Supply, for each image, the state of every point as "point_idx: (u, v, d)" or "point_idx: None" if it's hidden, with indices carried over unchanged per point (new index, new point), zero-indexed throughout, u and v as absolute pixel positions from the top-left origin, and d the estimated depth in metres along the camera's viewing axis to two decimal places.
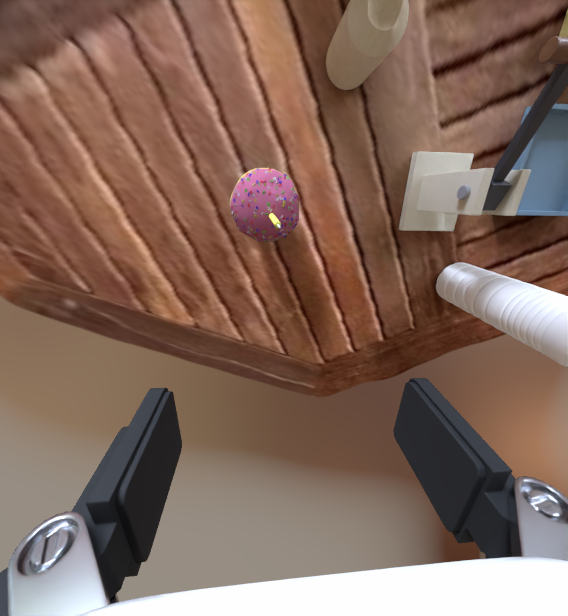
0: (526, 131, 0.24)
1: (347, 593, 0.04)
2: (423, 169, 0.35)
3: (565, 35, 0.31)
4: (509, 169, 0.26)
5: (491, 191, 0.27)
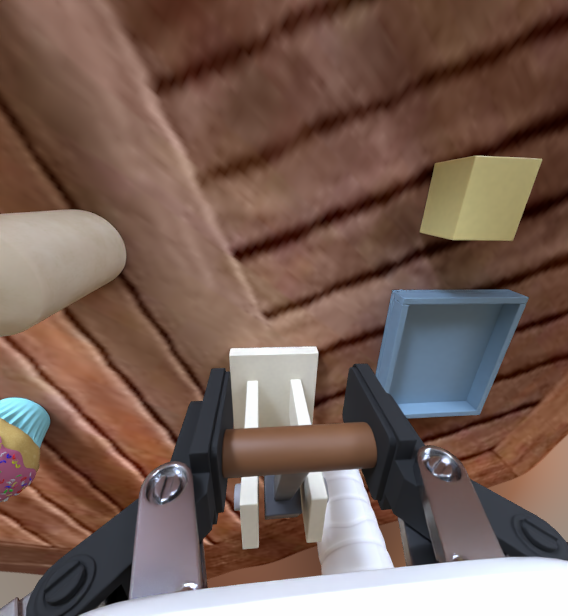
0: (278, 489, 0.12)
1: (347, 593, 0.04)
2: (245, 374, 0.24)
3: (432, 207, 0.20)
4: (289, 497, 0.15)
5: (270, 516, 0.16)
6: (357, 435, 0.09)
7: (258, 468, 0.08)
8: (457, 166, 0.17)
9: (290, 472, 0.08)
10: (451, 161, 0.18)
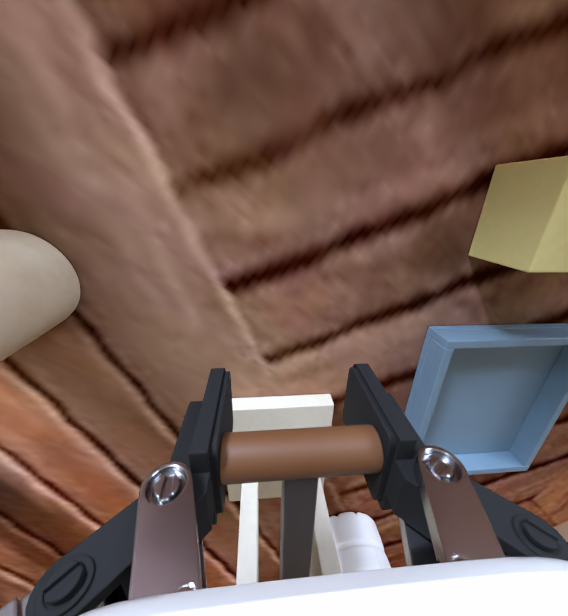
0: (284, 569, 0.10)
1: (347, 593, 0.04)
2: (241, 431, 0.19)
3: (490, 224, 0.15)
4: None
5: None
6: (358, 429, 0.09)
7: (258, 462, 0.08)
8: (538, 170, 0.12)
9: (292, 470, 0.08)
10: (527, 162, 0.13)
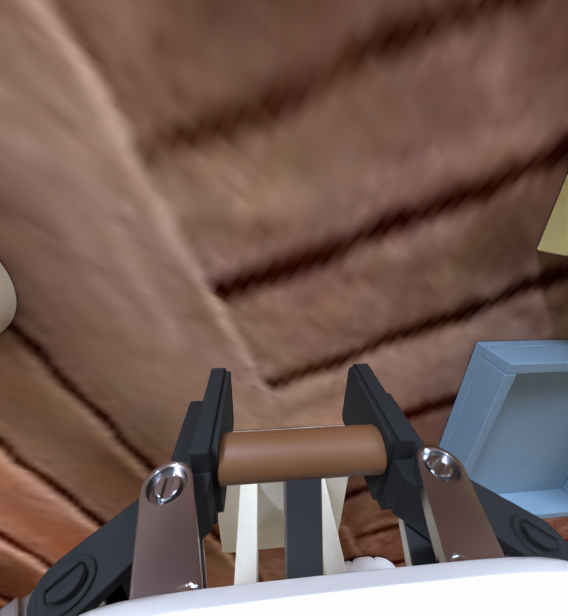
0: None
1: (347, 593, 0.04)
2: None
3: None
4: None
5: None
6: (358, 426, 0.09)
7: (257, 453, 0.08)
8: None
9: (293, 463, 0.08)
10: None
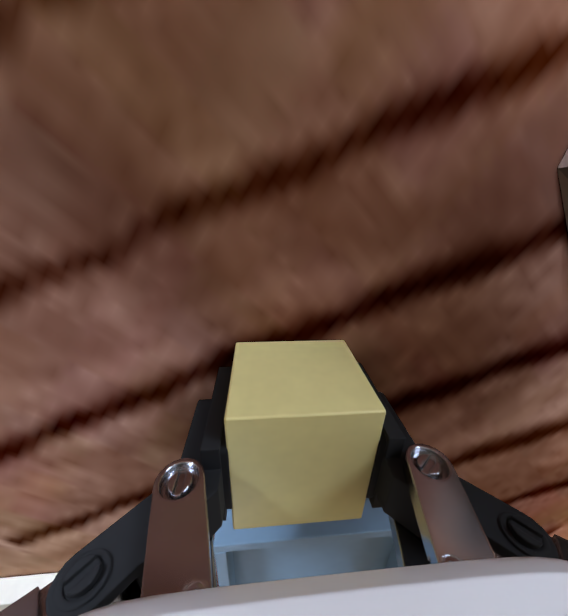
0: None
1: (347, 593, 0.04)
2: None
3: None
4: None
5: None
6: None
7: None
8: None
9: None
10: (231, 372, 0.09)
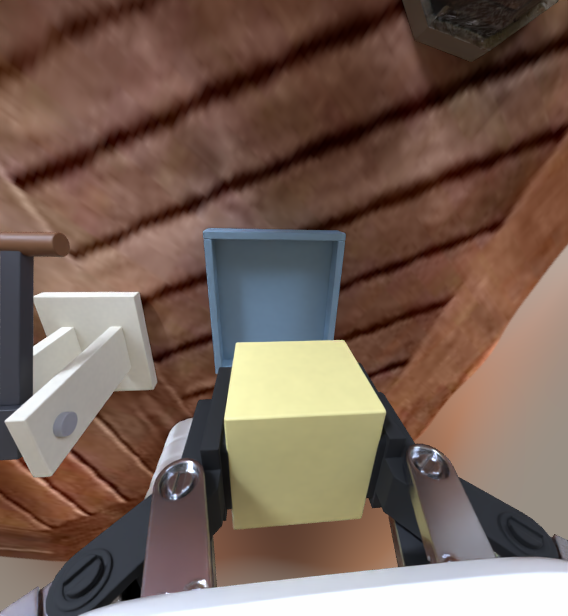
0: (0, 329, 0.15)
1: (347, 593, 0.04)
2: (57, 319, 0.22)
3: None
4: (14, 384, 0.15)
5: None
6: None
7: None
8: None
9: None
10: (231, 372, 0.09)
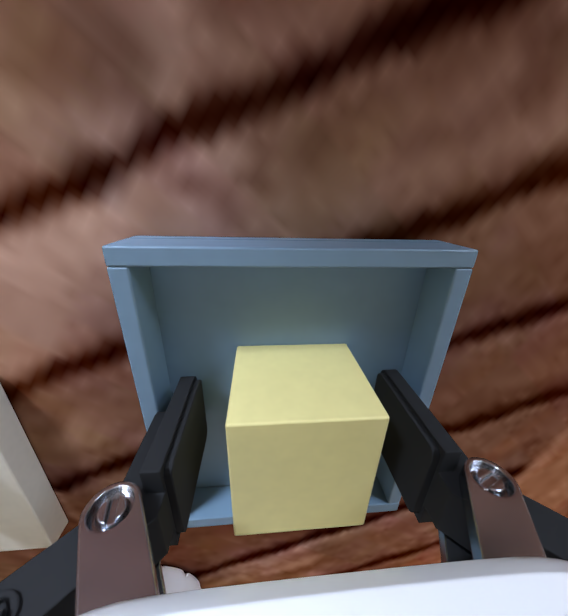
0: None
1: (347, 593, 0.04)
2: None
3: None
4: None
5: None
6: None
7: None
8: None
9: None
10: (232, 377, 0.09)
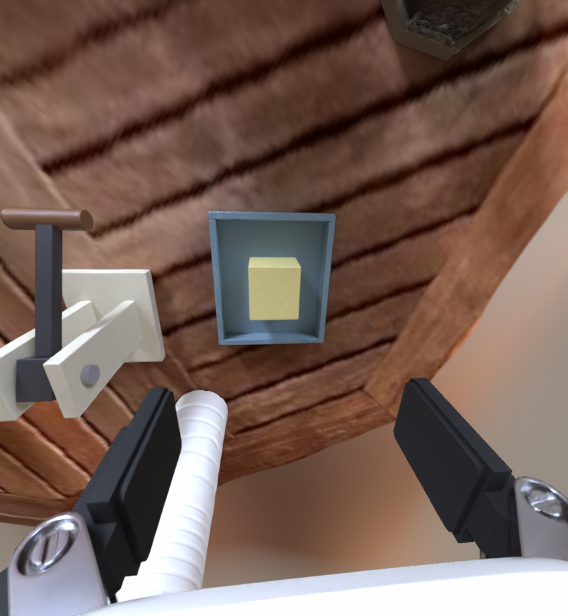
0: (35, 291, 0.18)
1: (347, 593, 0.04)
2: (76, 293, 0.25)
3: None
4: (47, 339, 0.18)
5: (21, 370, 0.17)
6: None
7: (20, 210, 0.18)
8: None
9: (35, 214, 0.18)
10: (249, 262, 0.24)
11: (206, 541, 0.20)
